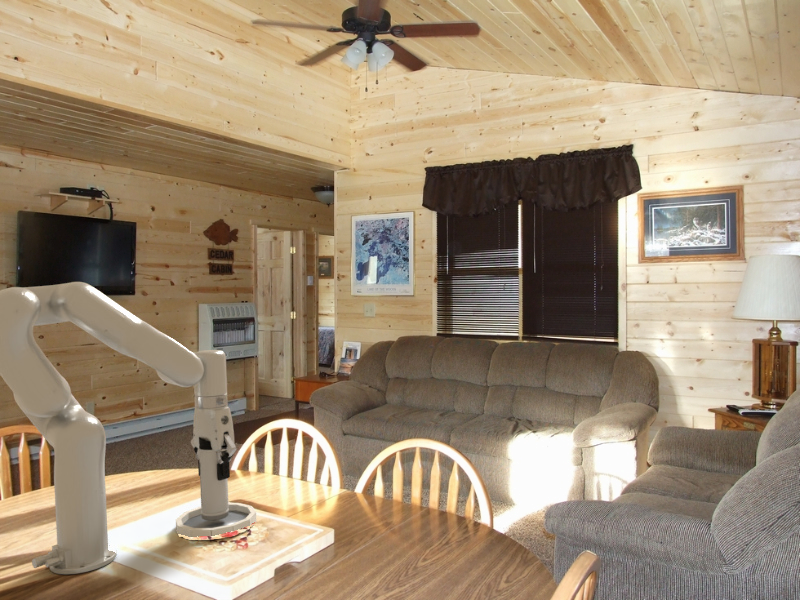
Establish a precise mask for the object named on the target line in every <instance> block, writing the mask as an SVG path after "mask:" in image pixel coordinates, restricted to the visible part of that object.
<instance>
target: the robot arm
mask: <svg viewBox="0 0 800 600" xmlns="http://www.w3.org/2000/svg"><path fill="white" fill-rule="evenodd" d="M67 322H71V323H73V324H74V325H75V326H76V327H78V328H80V329H81V330H83V331H85V332H86V333H87V334H89V335H90V336H92V337H93V338H95V339H97V340H99V341H100V342H101V343H103V344H104V345H106V346H108V347H109V348H111V349H112V350H114V351H116V352H117V353H120V354H121V355H124V356H127V357H129V358H132V359H135V360H137V361H139V362H142V363H144V364H145V365H146V366H148V367H150V368H151V369H154V370H155V371H156V374H157V377H158V378H160V379H161V380H162V381H163V382H165V383H166V384H167V383H168V384H170V385H174V386H179V387H181V388H189V387H193V390H194V391H193V393H194V412H193V424H192V425H193V426H192V427H193V429H192V430H193V433H192V435H193V437H192V439H191V440H190V444H191V446H192V448H193V451H194V452H195V454H196V456H195V457H196V459H197V462H198V463H197V467H198V470H197V471H198V477H200V462H199V437H200V438H201V439H205V440H206V441H210V442H211V447H212V450H213V451H215V452H216V455H217V458H218V462H219V463H218V464H217V479H218V480H219V481H221V480H224V479H227V478H228V479H229V478H230V477H231V473H230V470H231V469H230V462H231V461H232V458H233V456H234V454H235V452H236V451H237V447H236V444H235V431H234V422H233V417H232V412H231V408H230V407H229V406H228V403H229V402H228V401H229V400H228V378H227V357H226V353H225V352H224V351H223V350H221V349H209V350H208V349H204V350H198V351H193V352H192V351H191V350H190V349H188V348H186V347H185V346H184V345H182V344H181V343H179V342H178V341H176V340H175V339H173V338H172V337H170V336H169V335H167V334H166V333H163V332H161V331H160V330H159V329H157V328H155V327H154V326H152V325H151V324H149V323H148V322H146V321H144V320H142V319H141V318H140V317H138V316H136V315H134V314H133V313H132V312H131V311H129V310H127V309H126V308H125V307H123V305H120V304H119V303H117V302H116V301H115V300H113V299H112V298H110V297H109V296H107V295H106V294H104V293H103V292H102V291H100V290H98V289H97V288H95V286H92V285H90V284H89V283H87V282H82V281H71V282H67V283H66V282H65V283H60V284H53V285H51V284H50V285H42V286H40V285H38V286H28V287H26V286H25V287H20V286H12V287H8V288H7V287H6V288H3V289H1V290H0V377H1V378H2V380H3V381H4V383H6V385H7V386H8V387H9V389H10V390H11V391H12V393H13V398H14V401H15V403H16V405H17V406H18V407H19V409H20V410H21V411H22V412H23V413H24V415H25V416H26V417H27V418H28V420H29V421H30V423H31V424H32V425H33V426H34V427H35V428H36V430H37V431H38V432H39V433H40V434H41V435H42V436H43V438H44V439H45V440H46V441H47V442H48V444H49V445H50V446H51V447H53V451H54V463H53V464H54V466H53V486H54V487H53V488H54V501H55V502H54V503H55V505H54V507H55V521H56V522H55V524H56V526H55V528H56V544H54V545H52V546H51V550H50V551H48V553H47V554H44V555H39V556H37V557H34V558H33V559H32V560H31V564H32V567H33V568H34V569H36V568H40V567H42V566H45V567H46V568H49V570H50V571H51V573H55V574H56V575H57V574H58V575H78V574H83V573H87V572H91V571H94V570H98V569H100V568H102V567H104V566H107V565H108V564H110V563H112V562H113V561H114V560H115V559H116V558H117V552H116V553H115V552H113V551H109V550H108V545H109V539H108V538H109V537H108V536H109V535H108V513H107V493H106V491H107V487H106V473H105V472H106V471H105V461H106V460H105V458H106V449H107V448H106V446H107V437H106V430H105V428H104V426H103V424H102V422H101V420H100V419H98V418H97V416H95V415H93V414H91V413H90V412H88V411H86V410H85V409H84V408H83V406H81V404H80V403H79V401H78V400H77V399H76V398H75V396H74V395H73V394H72V390H71V387H70V384H69V382H68V381H67V380H66V378H65V377H64V376H62V375H61V374H60V372H59V371H58V370H57V369H56V367H55V366H54V365H53V364H52V362H51V361H50V360H49V358H48V357H47V356H46V355H45V353H44V351H43V350H42V349H41V347H40V346H39V344H38V343H37V342H36V338H35V337H34V326H35V327H36V326H46V325H52V324H59V323H67ZM221 446H224V449H222V448H221ZM221 452H224V455H223V456H222V454H221Z"/></svg>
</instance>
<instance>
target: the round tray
mask: <svg viewBox="0 0 800 600" xmlns="http://www.w3.org/2000/svg"><path fill="white" fill-rule="evenodd" d="M228 504H229V507H228V508H229V515H228V516H227V517H226V518H223V519H220V520H215V521H207V520H204V519H202V514H201V512H202V511H201V506H198V507H195V508H193V509H191V510H190V509H189V510H187V511H185V512H183V513H182V514H181V515H179V516H178V517H176V519H175V529H176V528H177V531H176V533H177V532H178V534H181V535H185V536H188V537H197V536H198V537H199V536H215V535H219V534H223V533H226V532H231V531H235V530H238V529H241V528H244V527H247V526H250V525H251V524H252V523H254V522H256V523H257V511H256V510H255V508H254V507H253V506H252V505H251V504H250V505H249V504H245V503H241V502H228Z"/></svg>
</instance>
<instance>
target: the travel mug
mask: <svg viewBox="0 0 800 600" xmlns="http://www.w3.org/2000/svg"><path fill="white" fill-rule="evenodd" d="M221 448H222V449H224V446H221ZM221 454H222V456H223V455H224V452H221ZM198 460H199V462H200V476H199V483H200V484H199V485H200V487H199V489H200V507H201V511H202V512H201V514H202V519H204V520H207V521H215V520H220V519H223V518H226V517H227V516H228V515H229V508H228V507H229V504H228V503H229V485H228V484H229V483H228V480H229V478H227V479H224V480H221V481H219V480H218V479H217V464H218V463H219V462H218V458H217V455H216V452H215V451H213V450H212V447H211V442H210V441H206V440H205V439H201V438H200V437H199V459H198Z"/></svg>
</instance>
